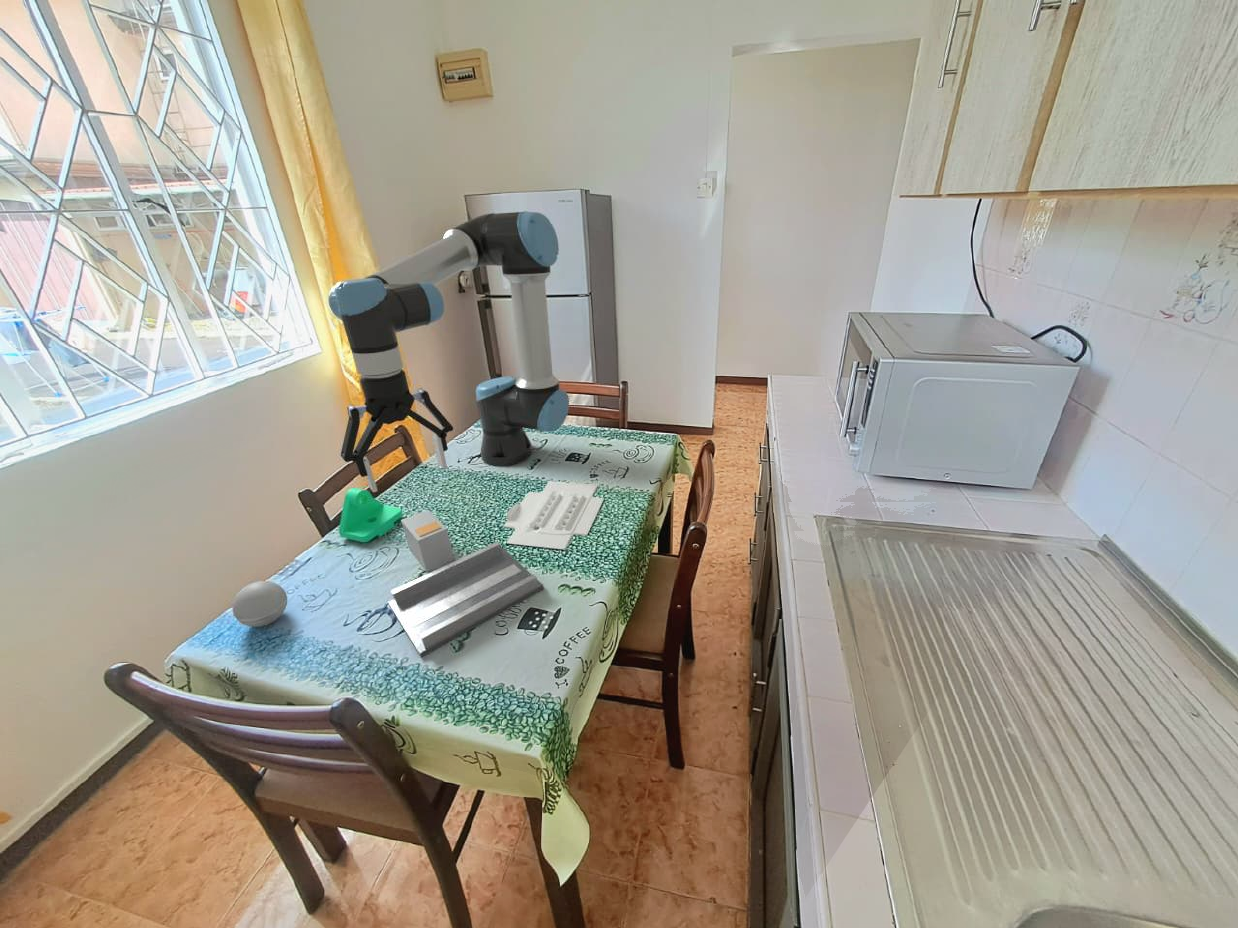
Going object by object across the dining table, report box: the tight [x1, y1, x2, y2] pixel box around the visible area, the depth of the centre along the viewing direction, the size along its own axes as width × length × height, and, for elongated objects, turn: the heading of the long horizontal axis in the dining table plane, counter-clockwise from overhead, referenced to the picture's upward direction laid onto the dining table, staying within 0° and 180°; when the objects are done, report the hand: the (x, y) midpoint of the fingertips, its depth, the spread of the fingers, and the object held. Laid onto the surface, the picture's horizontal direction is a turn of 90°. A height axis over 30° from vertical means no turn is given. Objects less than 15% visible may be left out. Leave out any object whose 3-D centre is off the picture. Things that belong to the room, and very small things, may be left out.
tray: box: [503, 481, 605, 551], centre depth 118 cm, size 20×28×4 cm
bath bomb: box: [232, 580, 288, 628], centre depth 88 cm, size 8×8×8 cm
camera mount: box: [338, 487, 404, 543], centre depth 113 cm, size 12×8×10 cm, turn 159°
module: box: [400, 509, 455, 573], centre depth 103 cm, size 6×10×8 cm, turn 40°
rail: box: [388, 541, 545, 658], centre depth 92 cm, size 24×16×3 cm, turn 130°
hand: (409, 477), depth 96 cm, fingers open, 13 cm apart
